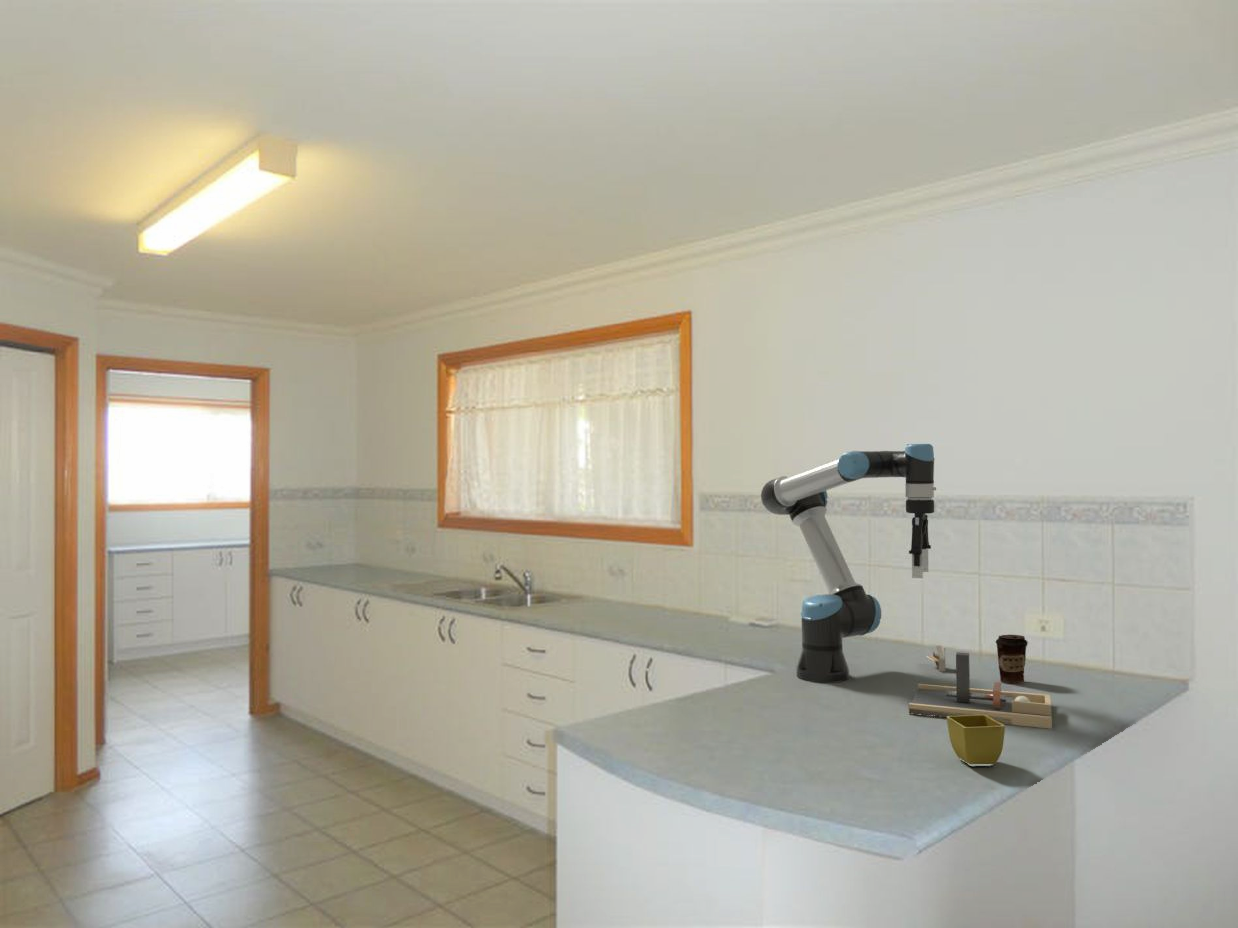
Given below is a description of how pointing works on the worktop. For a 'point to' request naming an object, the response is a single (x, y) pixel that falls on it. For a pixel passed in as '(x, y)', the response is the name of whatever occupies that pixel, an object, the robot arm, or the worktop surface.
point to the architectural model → (939, 657)
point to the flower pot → (976, 738)
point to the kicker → (964, 684)
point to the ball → (1022, 699)
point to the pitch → (984, 706)
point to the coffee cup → (1011, 658)
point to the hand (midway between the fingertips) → (920, 574)
